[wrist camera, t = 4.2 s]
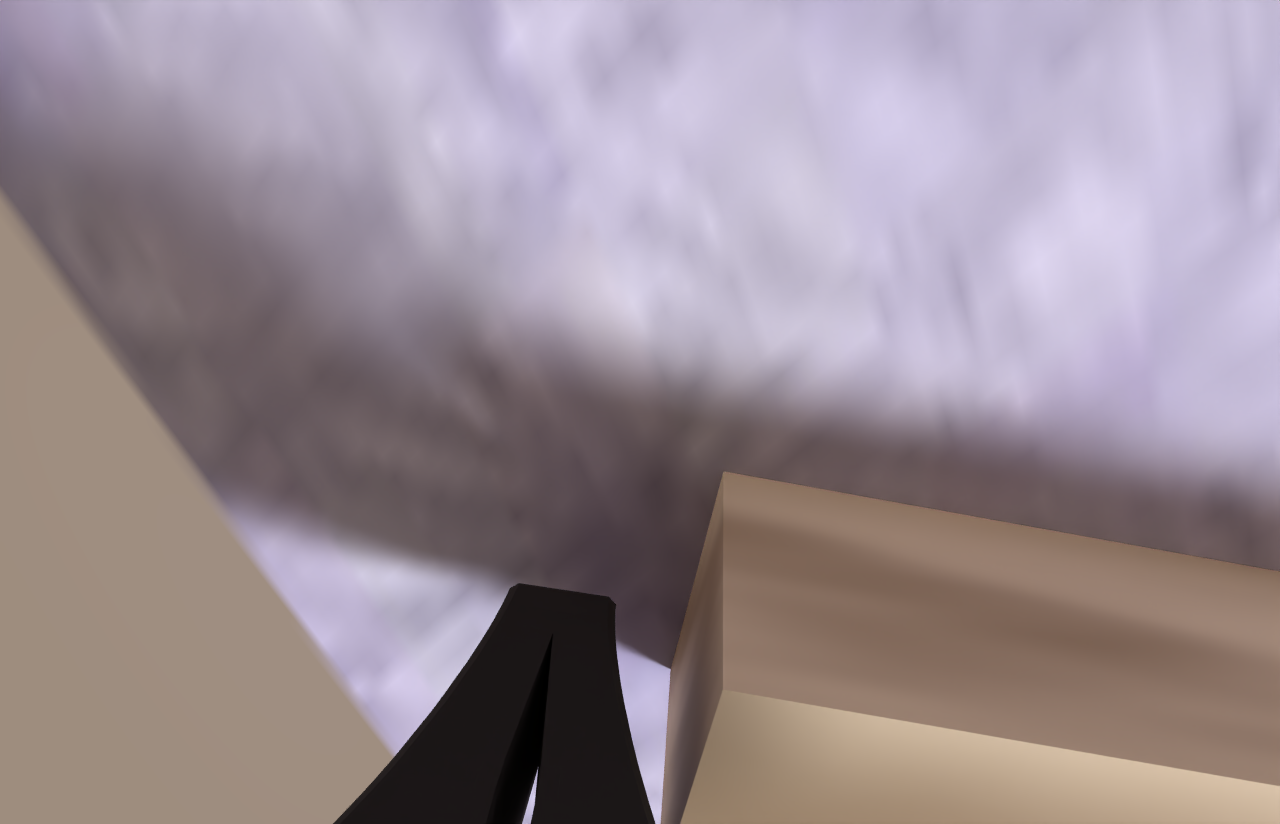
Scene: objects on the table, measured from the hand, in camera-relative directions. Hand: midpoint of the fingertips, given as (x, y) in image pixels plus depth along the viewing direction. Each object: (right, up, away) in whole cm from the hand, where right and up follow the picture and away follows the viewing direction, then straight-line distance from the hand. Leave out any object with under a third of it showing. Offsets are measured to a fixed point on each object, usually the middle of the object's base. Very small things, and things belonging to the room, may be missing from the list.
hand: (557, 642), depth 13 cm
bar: (+8, 0, +1) cm, 8 cm away
